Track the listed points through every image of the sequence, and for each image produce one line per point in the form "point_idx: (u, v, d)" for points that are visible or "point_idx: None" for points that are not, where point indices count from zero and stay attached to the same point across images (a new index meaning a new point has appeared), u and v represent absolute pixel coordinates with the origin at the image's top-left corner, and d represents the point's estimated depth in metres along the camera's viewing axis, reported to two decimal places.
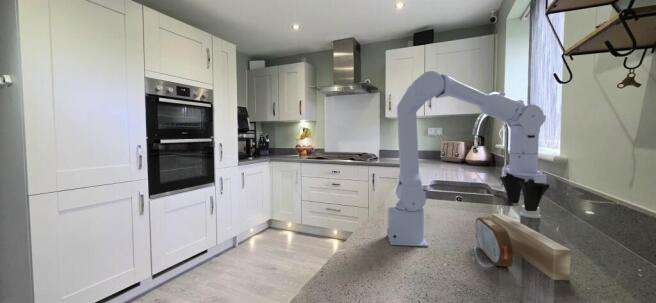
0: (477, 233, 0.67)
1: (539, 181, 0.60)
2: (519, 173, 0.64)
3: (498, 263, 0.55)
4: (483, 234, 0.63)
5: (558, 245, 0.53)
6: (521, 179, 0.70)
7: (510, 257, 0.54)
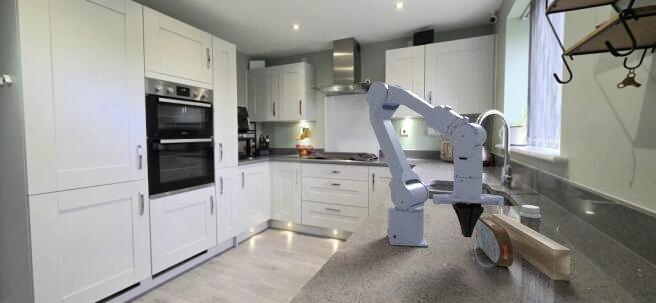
0: (477, 233, 0.67)
1: (433, 201, 0.61)
2: None
3: (498, 263, 0.55)
4: (483, 234, 0.63)
5: (558, 245, 0.53)
6: (471, 210, 0.58)
7: (510, 257, 0.54)
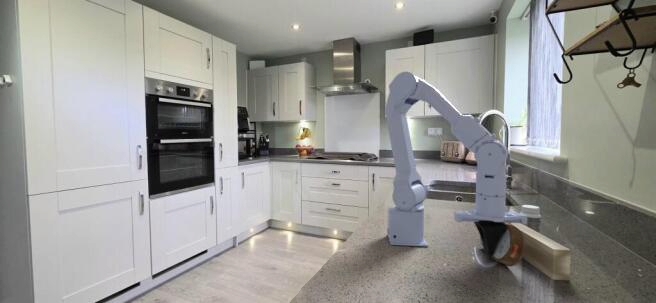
0: None
1: (455, 218, 0.61)
2: None
3: (502, 259, 0.55)
4: None
5: (558, 245, 0.53)
6: None
7: (517, 257, 0.53)
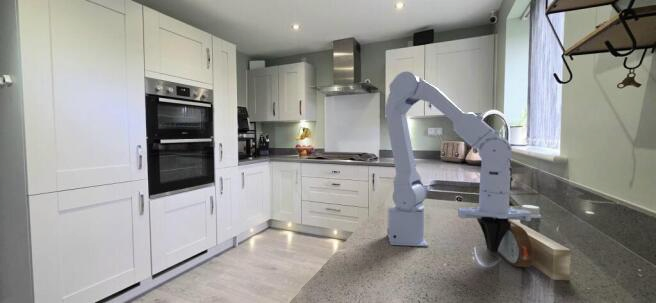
0: None
1: (458, 214, 0.60)
2: None
3: (517, 263, 0.55)
4: None
5: (558, 245, 0.53)
6: None
7: (529, 258, 0.53)
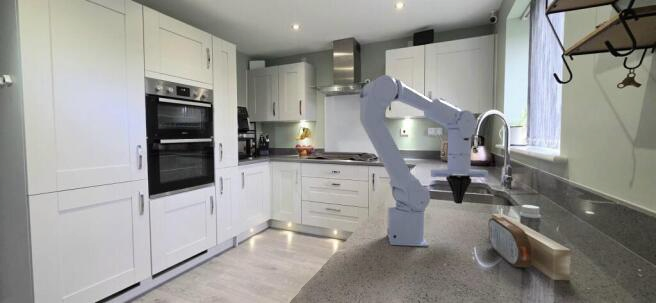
0: (490, 233, 0.67)
1: (431, 174, 0.75)
2: None
3: (516, 264, 0.55)
4: (498, 235, 0.62)
5: (558, 245, 0.53)
6: (461, 181, 0.72)
7: (529, 258, 0.53)
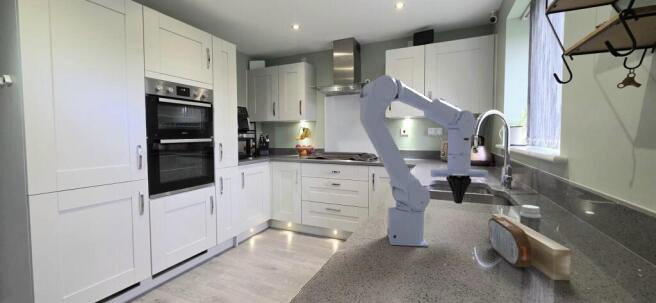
0: (490, 234, 0.67)
1: (431, 174, 0.75)
2: None
3: (516, 264, 0.55)
4: (498, 235, 0.62)
5: (558, 245, 0.53)
6: (461, 181, 0.72)
7: (529, 258, 0.53)
